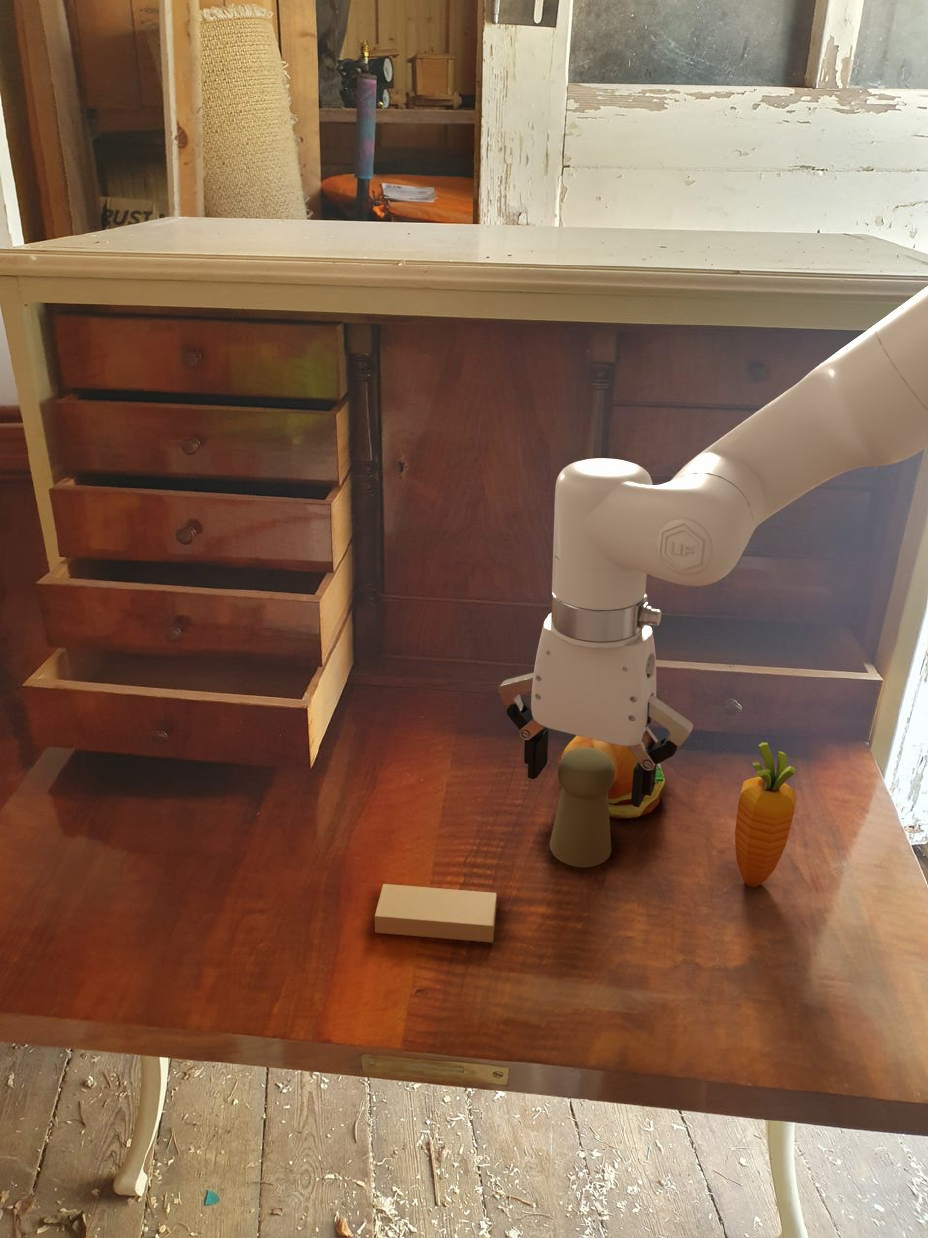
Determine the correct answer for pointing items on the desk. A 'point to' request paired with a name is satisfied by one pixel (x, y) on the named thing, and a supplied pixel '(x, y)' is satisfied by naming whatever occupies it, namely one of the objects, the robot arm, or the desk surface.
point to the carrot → (764, 818)
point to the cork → (583, 808)
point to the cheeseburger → (622, 779)
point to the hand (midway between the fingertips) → (587, 784)
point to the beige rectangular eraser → (436, 913)
